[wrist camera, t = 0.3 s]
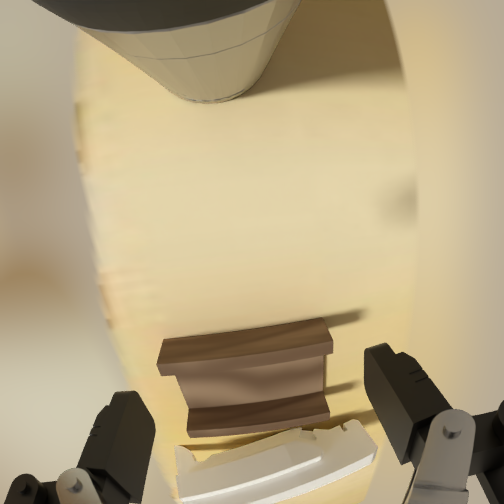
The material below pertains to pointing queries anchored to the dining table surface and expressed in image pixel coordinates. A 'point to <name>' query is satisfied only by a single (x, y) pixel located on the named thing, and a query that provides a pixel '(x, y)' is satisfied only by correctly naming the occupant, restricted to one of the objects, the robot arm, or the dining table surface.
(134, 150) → the dining table surface
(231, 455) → the shelf bracket
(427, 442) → the robot arm
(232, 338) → the walnut channel
